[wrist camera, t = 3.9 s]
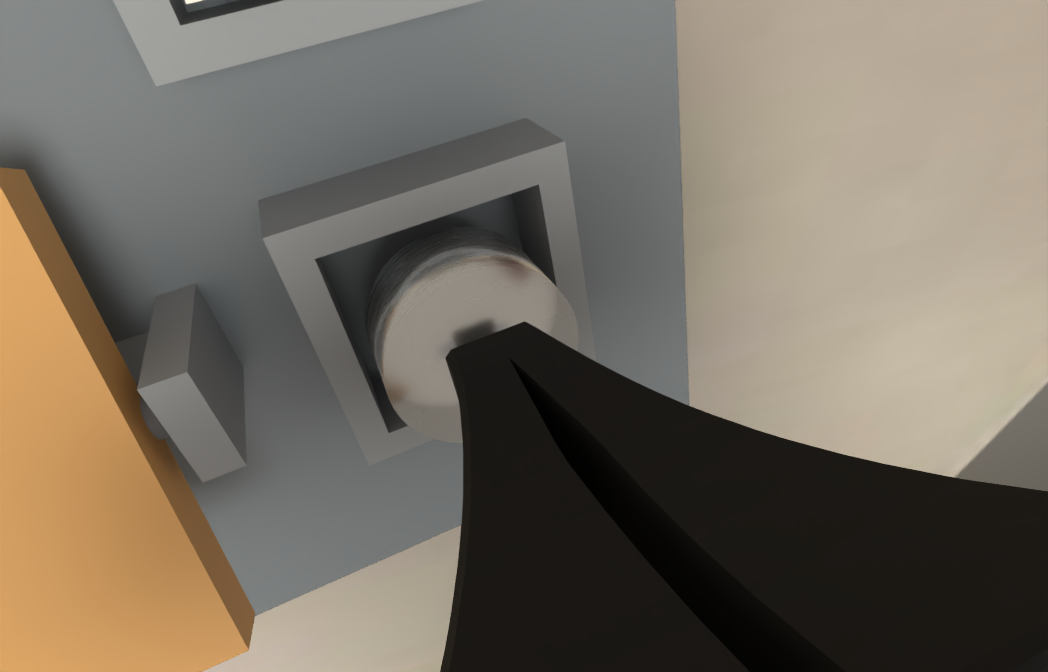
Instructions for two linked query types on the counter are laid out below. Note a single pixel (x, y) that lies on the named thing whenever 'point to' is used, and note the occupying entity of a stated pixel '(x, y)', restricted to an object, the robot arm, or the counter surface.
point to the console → (340, 225)
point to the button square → (191, 1)
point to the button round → (452, 316)
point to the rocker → (92, 487)
